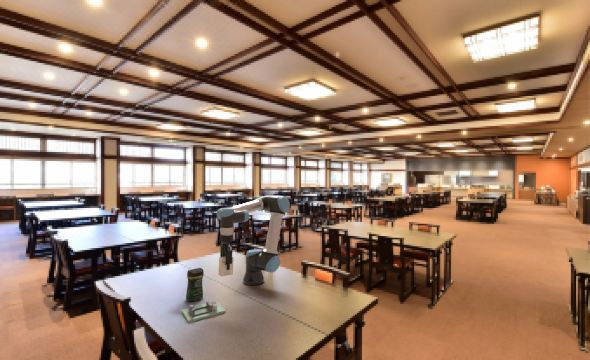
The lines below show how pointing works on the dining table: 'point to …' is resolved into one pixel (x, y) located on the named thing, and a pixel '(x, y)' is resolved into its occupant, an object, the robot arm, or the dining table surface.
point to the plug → (222, 266)
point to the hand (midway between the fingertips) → (225, 273)
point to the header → (208, 306)
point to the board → (216, 310)
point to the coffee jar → (195, 284)
